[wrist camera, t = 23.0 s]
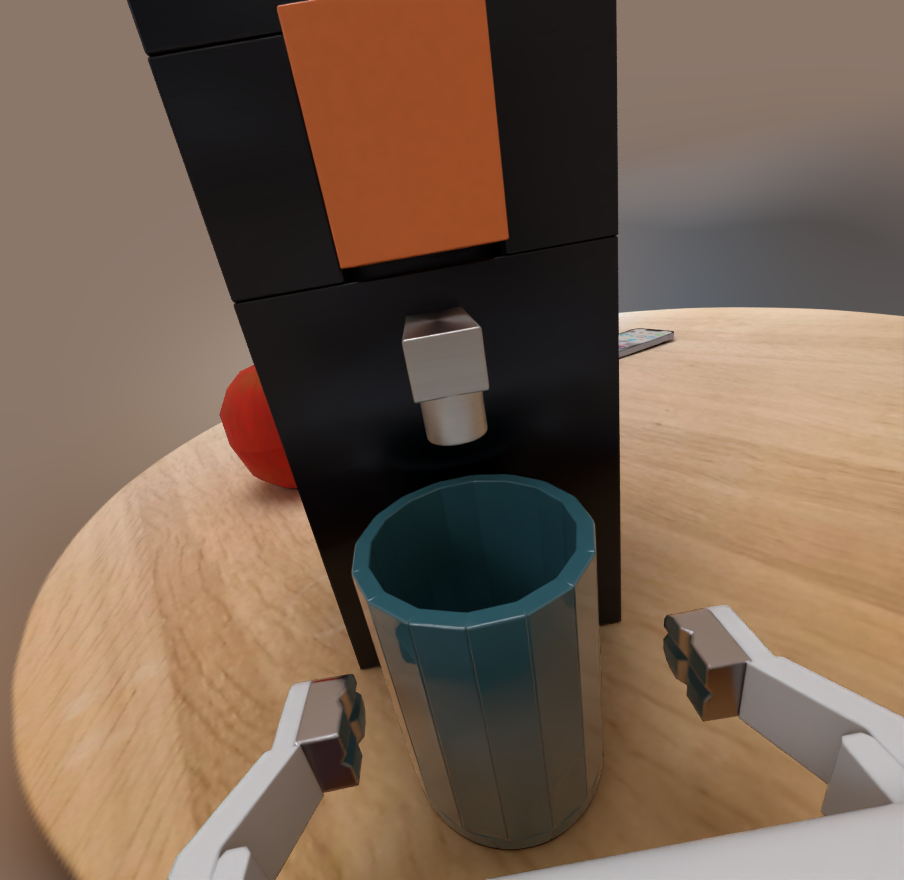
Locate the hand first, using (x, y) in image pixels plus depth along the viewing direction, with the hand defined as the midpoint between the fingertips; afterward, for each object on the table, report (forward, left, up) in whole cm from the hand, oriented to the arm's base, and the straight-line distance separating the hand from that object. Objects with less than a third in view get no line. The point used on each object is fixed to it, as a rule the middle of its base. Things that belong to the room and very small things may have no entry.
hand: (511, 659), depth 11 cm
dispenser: (+8, -3, -6) cm, 11 cm away
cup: (+2, -1, -7) cm, 7 cm away
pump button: (+5, -2, +10) cm, 11 cm away
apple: (+31, +1, -7) cm, 32 cm away
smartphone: (+36, -45, -7) cm, 58 cm away
